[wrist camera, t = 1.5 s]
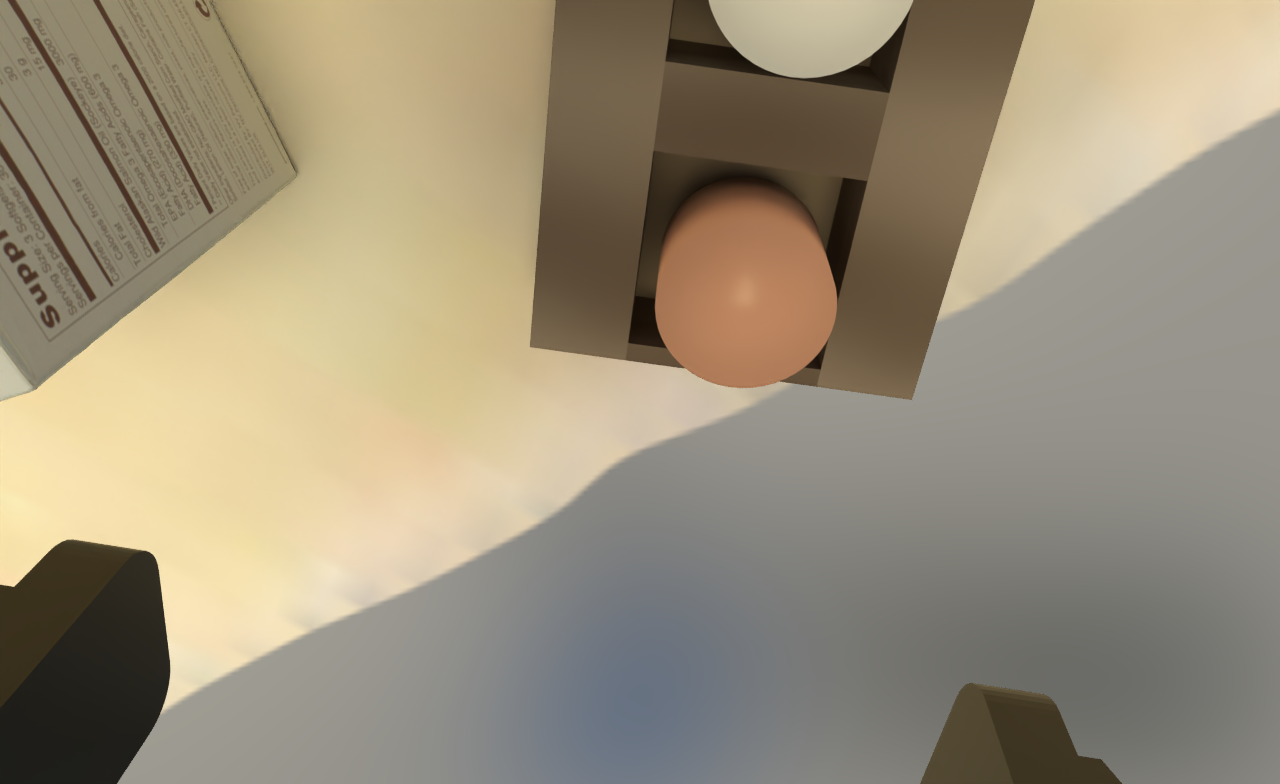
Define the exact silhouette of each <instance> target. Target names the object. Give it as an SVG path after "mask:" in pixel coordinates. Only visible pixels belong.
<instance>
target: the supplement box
mask: <svg viewBox="0 0 1280 784" xmlns="http://www.w3.org/2000/svg"><path fill="white" fill-rule="evenodd" d="M295 178H296V172H295V171H294V169H293V167H292V165H291V162H290V160H289V158H288V156H287V154H286V152H285V150H284V148H283V145H282V143H281V141H280V139H279V137H278V135H277V133H276V131H275V129H274V127H273V125H272V123H271V121H270V119H269V118H268V116H267V114H266V112H265V109H264V107H263V105H262V103H261V101H260V99H259V97H258V95H257V93H256V92H255V90H254V88H253V85H252V83H251V81H250V79H249V78H248V76H247V74H246V72H245V70H244V67H243V65H242V63H241V61H240V59H239V57H238V56H237V54H236V52H235V50H234V48H233V46H232V44H231V42H230V40H229V38H228V36H227V34H226V32H225V30H224V28H223V26H222V24H221V22H220V20H219V18H218V16H217V14H216V12H215V10H214V8H213V5H212V4H211V2H210V0H0V401H3V400H6V399H9V398H12V397H15V396H18V395H21V394H25V393H29V392H31V391H33V390H35V389H37V388H38V387H39V386H40V385H41V384H42V383H43V382H45V381H46V380H47V379H48V378H49V377H51V376H52V375H53V374H54V373H56V372H57V371H58V370H59V369H60V368H62V367H63V366H64V365H65V364H67V363H68V362H69V361H70V360H72V359H73V358H74V357H75V356H77V355H78V354H79V353H81V352H82V351H83V350H85V349H86V348H87V347H88V346H89V345H90V344H91V343H92V342H94V341H95V340H96V339H98V338H99V337H100V336H101V335H103V334H104V333H105V332H106V331H108V330H109V329H110V328H111V327H113V326H114V325H115V324H116V323H117V322H118V321H119V320H121V319H122V318H123V317H124V316H126V315H127V314H129V313H130V312H131V311H133V310H134V309H135V308H136V307H138V306H139V305H140V304H141V303H143V302H144V301H145V300H147V299H148V298H149V297H150V296H152V295H153V294H154V293H155V292H157V291H158V290H159V289H160V288H162V287H163V286H164V285H166V284H167V283H168V282H169V281H171V280H172V279H173V278H174V277H176V276H177V275H178V274H179V273H181V272H182V271H183V270H184V269H185V268H187V267H188V266H189V265H190V264H191V263H193V262H194V261H195V260H196V259H198V258H199V257H200V256H201V255H203V254H204V253H205V252H206V251H208V250H209V249H210V248H211V247H213V246H214V245H215V244H216V243H217V242H218V241H219V240H221V239H222V238H224V237H225V236H226V235H227V234H228V233H230V232H231V231H232V230H233V229H234V228H235V227H237V226H238V225H239V224H241V223H242V222H243V221H244V220H246V219H247V218H248V217H249V216H250V215H252V214H253V213H254V212H255V211H256V210H258V209H259V208H260V207H261V206H262V205H264V204H265V203H266V202H267V201H269V200H270V199H271V198H272V197H273V196H274V195H275V194H276V193H278V192H279V191H280V190H281V189H283V188H284V187H285V186H287V185H288V184H289V183H290V182H291V181H292V180H293V179H295Z"/></svg>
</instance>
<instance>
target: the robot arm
mask: <svg viewBox="0 0 1280 784" xmlns="http://www.w3.org/2000/svg"><path fill="white" fill-rule="evenodd" d="M169 679H170V658H169V650H168V642H167V634H166V626H165V617H164V609H163V601H162V593H161V585H160V577H159V569H158V564H157V561H156V559H155V557H154V556H153V555H152V554H151V553H150V552H147V551H142V550H136V549H130V548H123V547H117V546H111V545H104V544H98V543H91V542H85V541H79V540H66V541H63V542H61V543H59V544H58V545H56V546H55V547H54V548H53V549H51V550H50V551H49V552H48V553H47V554H46V555H45V556H44V557H43V558H42V559H41V560H40V561H39V562H38V563H37V564H36V565H35V567H34V568H33V569H32V570H31V571H30V572H29V573H28V574H27V575H26V576H25V577H24V578H23V579H22V580H21V581H20V582H19V583H18V584H17V585H16V586H15V587H11V586H5V585H0V784H117V783H118V781H119V780H120V778H121V776H122V775H123V773H124V772H125V770H126V769H127V767H128V766H129V764H130V763H131V761H132V760H133V758H134V757H135V755H136V754H137V752H138V751H139V749H140V748H141V746H142V745H143V743H144V742H145V740H146V738H147V737H148V735H149V734H150V732H151V731H152V729H153V727H154V725H155V723H156V721H157V719H158V717H159V715H160V713H161V710H162V707H163V705H164V702H165V698H166V695H167V690H168V686H169ZM921 784H1122V783H1121V782H1120V781H1119V780H1118V779H1117V777H1116V776H1115V775H1114V774H1113V773H1112V772H1111V770H1110V769H1109V768H1108V767H1107V766H1106V765H1105V763H1103V761H1102V760H1101V759H1095V758H1089V757H1082V756H1078V755H1077V752H1076V750H1075V748H1074V745H1073V743H1072V740H1071V738H1070V736H1069V733H1068V731H1067V729H1066V726H1065V724H1064V722H1063V719H1062V717H1061V714H1060V712H1059V710H1058V708H1057V706H1056V704H1055V703H1054V702H1053V700H1052V699H1051V698H1050V697H1048V696H1046V695H1044V694H1038V693H1032V692H1025V691H1019V690H1013V689H1006V688H1000V687H994V686H987V685H980V684H974V683H969V684H966V685H965V686H964V687H963V688H962V689H961V690H960V692H959V694H958V696H957V698H956V700H955V702H954V705H953V707H952V710H951V712H950V714H949V717H948V719H947V722H946V724H945V726H944V729H943V731H942V733H941V736H940V738H939V741H938V743H937V745H936V747H935V750H934V752H933V755H932V757H931V759H930V762H929V764H928V766H927V769H926V771H925V774H924V776H923V778H922V781H921Z"/></svg>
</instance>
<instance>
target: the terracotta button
mask: <svg viewBox="0 0 1280 784" xmlns="http://www.w3.org/2000/svg"><path fill="white" fill-rule="evenodd" d="M836 312H837V294H836V287H835V283H834V280H833V276H832V273H831V269H830V266H829V263H828V260H827V256H826V253H825V250H824V246H823V243H822V240H821V236H820V233H819V230H818V227H817V224H816V222H815V220H814V218H813V216H812V214H811V213H810V211H809V210H808V208H807V207H806V206H805V205H804V203H803V202H802V201H801V200H800V199H799V198H797V197H796V196H795V195H794V194H793V193H791V192H790V191H788V190H787V189H785V188H783V187H781V186H779V185H778V184H775V183H772V182H770V181H767V180H762V179H757V178H748V177H740V178H730V179H724V180H721V181H717V182H714V183H711V184H709V185H707V186H705V187H703V188H701V189H700V190H698V191H696V192H695V193H693V194H692V195H691V196H690V197H688V198H687V199H686V200H685V201H684V202H683V203H682V204H681V205H680V206H679V207H678V208H677V210H676V211H675V213H674V214H673V215H672V217H671V219H670V221H669V223H668V225H667V227H666V230H665V233H664V235H663V240H662V245H661V254H660V263H659V272H658V281H657V290H656V300H655V314H656V321H657V326H658V330H659V332H660V335H661V338H662V340H663V342H664V344H665V345H666V347H667V349H668V350H669V351H670V353H671V354H672V356H673V357H674V358H675V359H676V360H677V361H678V362H679V363H680V364H681V365H682V366H683V367H685V368H686V369H687V370H688V371H690V372H691V373H693V374H695V375H696V376H698V377H700V378H702V379H704V380H706V381H709V382H712V383H715V384H718V385H723V386H728V387H737V388H753V387H759V386H765V385H769V384H773V383H776V382H779V381H781V380H784V379H786V378H788V377H790V376H792V375H793V374H795V373H797V372H798V371H800V370H801V369H803V368H804V367H805V366H806V365H808V364H809V363H810V362H811V361H812V360H813V359H814V358H815V357H816V356H817V354H818V353H819V352H820V351H821V350H822V348H823V346H824V345H825V343H826V342H827V340H828V338H829V336H830V334H831V332H832V329H833V326H834V323H835V318H836Z"/></svg>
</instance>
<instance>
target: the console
mask: <svg viewBox="0 0 1280 784" xmlns="http://www.w3.org/2000/svg"><path fill="white" fill-rule="evenodd" d="M1034 2H1035V0H913V3H912V5H911V7H910V9H909V11H908V13H907V15H906V16H905V18H904V20H903V21H902V23H901V25H900V26H899V27H898V29H897V30H896V31H895V33H894V34H893V35H892V36H891V37H890V38H889V40H888V41H887V42H886V43H885V44H884V45H883V46H882V47H881V48H879V49H878V50H877V51H876V52H875V53H873V54H872V55H871V56H870V57H868V58H866V59H865V60H863V61H862V62H860V63H859V64H857V65H855V66H853V67H851V68H849V69H846V70H844V71H841V72H838V73H835V74H832V75H827V76H822V77H815V78H796V77H788V76H783V75H779V74H776V73H773V72H770V71H767V70H765V69H763V68H761V67H759V66H757V65H755V64H754V63H752V62H751V61H749V60H748V59H747V58H745V57H744V56H743V55H741V54H740V53H739V52H738V51H737V50H736V49H735V48H734V47H733V46H732V45H731V43H730V42H729V41H728V40H727V38H726V37H725V36H724V34H723V32H722V31H721V29H720V27H719V26H718V24H717V22H716V20H715V17H714V15H713V13H712V11H711V7H710V4H709V0H556V8H555V22H554V35H553V48H552V61H551V75H550V88H549V101H548V115H547V128H546V141H545V154H544V168H543V181H542V194H541V207H540V221H539V234H538V247H537V261H536V274H535V287H534V300H533V314H532V327H531V340H530V347H534V348H541V349H548V350H555V351H563V352H570V353H577V354H584V355H592V356H599V357H606V358H613V359H621V360H628V361H635V362H642V363H649V364H657V365H664V366H671V367H678V368H685V367H683V366H682V365H681V364H680V363H679V362H678V361H677V360H676V359H675V358H674V357H673V356H672V354H671V353H670V351H669V350H668V349H667V347H666V345H665V344H664V342H663V340H662V338H661V335H660V332H659V330H658V326H657V321H656V314H655V300H656V290H657V281H658V272H659V263H660V254H661V245H662V240H663V235H664V233H665V230H666V227H667V225H668V223H669V221H670V219H671V217H672V215H673V214H674V213H675V211H676V210H677V208H678V207H679V206H680V205H681V204H682V203H683V202H684V201H685V200H686V199H687V198H688V197H690V196H691V195H692V194H693V193H695V192H696V191H698V190H700V189H701V188H703V187H705V186H707V185H709V184H711V183H714V182H717V181H721V180H724V179H730V178H740V177H748V178H757V179H762V180H767V181H770V182H772V183H775V184H778V185H779V186H781V187H783V188H785V189H787V190H788V191H790V192H791V193H793V194H794V195H795V196H796V197H797V198H799V199H800V200H801V201H802V202H803V203H804V205H805V206H806V207H807V208H808V210H809V211H810V213H811V214H812V216H813V218H814V220H815V222H816V224H817V227H818V230H819V233H820V236H821V240H822V243H823V246H824V250H825V253H826V256H827V260H828V263H829V266H830V269H831V273H832V276H833V280H834V283H835V287H836V294H837V312H836V318H835V323H834V326H833V329H832V332H831V334H830V336H829V338H828V340H827V342H826V343H825V345H824V346H823V348H822V350H821V351H820V352H819V353H818V354H817V356H816V357H815V358H814V359H813V360H812V361H811V362H810V363H809V364H808V365H806V366H805V367H804V368H803V369H801V370H800V371H798V372H797V373H795V374H793V375H792V376H790V377H788V378H786V379H784V380H781V381H780V382H787V383H794V384H801V385H809V386H816V387H823V388H830V389H838V390H845V391H852V392H860V393H867V394H874V395H881V396H888V397H896V398H903V399H910V400H912V397H913V394H914V391H915V388H916V384H917V381H918V378H919V375H920V372H921V368H922V365H923V362H924V359H925V355H926V352H927V349H928V346H929V342H930V339H931V336H932V333H933V329H934V326H935V323H936V320H937V316H938V313H939V310H940V307H941V303H942V300H943V297H944V294H945V290H946V287H947V284H948V281H949V278H950V274H951V271H952V268H953V265H954V261H955V258H956V255H957V252H958V248H959V245H960V242H961V239H962V235H963V232H964V229H965V226H966V222H967V219H968V216H969V213H970V209H971V206H972V203H973V200H974V196H975V193H976V190H977V187H978V183H979V180H980V177H981V174H982V171H983V167H984V164H985V161H986V158H987V154H988V151H989V148H990V145H991V141H992V138H993V135H994V132H995V128H996V125H997V122H998V119H999V115H1000V112H1001V109H1002V106H1003V102H1004V99H1005V96H1006V93H1007V89H1008V86H1009V83H1010V80H1011V77H1012V73H1013V70H1014V67H1015V64H1016V60H1017V57H1018V54H1019V51H1020V47H1021V44H1022V41H1023V38H1024V34H1025V31H1026V28H1027V25H1028V21H1029V18H1030V15H1031V12H1032V8H1033V5H1034Z"/></svg>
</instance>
